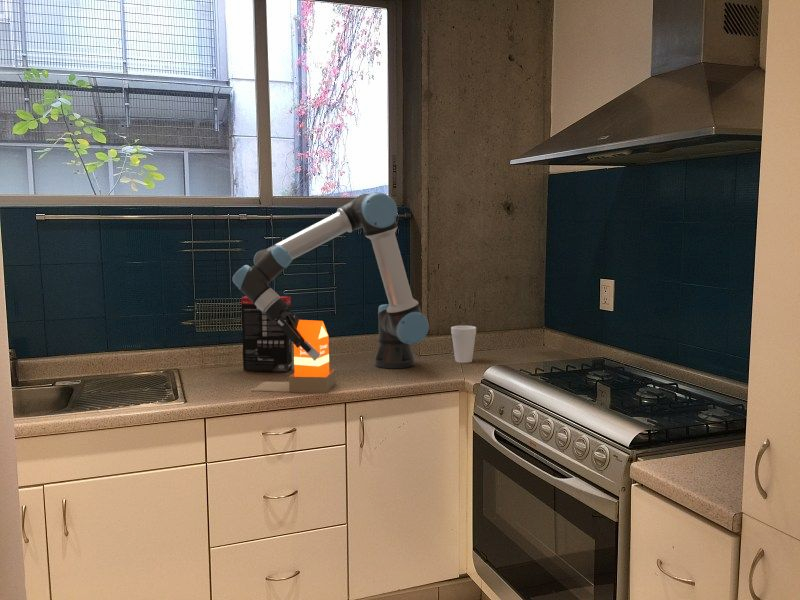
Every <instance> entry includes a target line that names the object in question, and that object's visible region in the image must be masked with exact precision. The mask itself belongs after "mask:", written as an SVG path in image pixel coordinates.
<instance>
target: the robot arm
mask: <svg viewBox="0 0 800 600" xmlns="http://www.w3.org/2000/svg"><path fill="white" fill-rule="evenodd" d="M397 216H398V206H397V203H396V202H395V200H394V199H393V198H392V197H391V196H390V195H388V194H387V193H384V192H383V193H382V192H378V191H376V192H370V193H364V194H361V195H358V196H357V197H355V198H354V199H352V200H350V201H349V202H347V203H346V204H344V205H342V206H340V207H338V208H337V210H336V212H335V213H333V214H331V215H329V216H327V217H325V218H323V219H321V220H320V221H318V222H317V221H316V222H315V223H313V224H312V225H309V226H307V227H305V228H303V229H302V230H300V231H298V232H296V233H294V234H292V235H290V236H288V237H287V238H284V239H283V240H281V241H279V242H277V243H274V244H273V245H271V246H269V247H267V248H265V249H261V250H259V251H257V252H256V253H255V255H254V256H253V264H254V265H252V266H249V265H248V264H245V265H243V266H241V268H238V270H236V272H235V273H234V274H233V276H232V282H233V283H232V284H234V285H235V286H236V287H237V288H238V290H239V291H241V293H242V294H244V296H247V297H248V298H249V299H250V300H251V301H252V302H253V303H254V304H255V305H256V306H257V307H256V308H257V309H260V310H261V311H262V312H265V315H266V316H267V317H268V318H269V319H270V320H271V321H275V320H276V319H277V320H278V322H277V323H276V324H277V325H278V326H279V327H280V328H281V329H282V330H283V331H284V333H285V334H286V335H287V336H288V337H289V338H290V340H291V342H292V343H293V345H294V344H295V345H296V347H297V348H299V347H301V348H302V349H303V350H304V351H305V352H306V353H307V354H308V355H309V356H310V357H311V358H312V359H313V360H314V361H315V360H316V359H317V358H318V357H319V356H320V355H321V354H320V353H319V352H318V351H317V350H316V349H315V348H314V347H313V346H312V345H311V344H310V343H309V342H308V341H307V340H306V341H305V340H304V338H303V337H302V336H301V334H300V333H299V331H298V330H297V326H298V323H299V320H301V319H300V318H299V317H298V316H297V315H296V314H295V313H294V312H291V314H290V313H288V312H287V311H286V309H287V308H288V304H287V303H286V302H285V301H284V300H283V299H281V298H280V299H279V296H280V295H279V294H278V293H277V292H276V291H275V290H274V289H273V288H272V287H271V286H270V285H269V284H270V283H271V282H272V281H274V279H276V277H278V275H280V274H281V272H283V271H284V270H286V268H288V267H289V265H290V264H291V263H292V261H293V260H294V259H296V258H299V257H300V256H303V255H304V254H306V253H308V252H310V251H312V250H314V249H316V248H318V247H319V246H321V245H323V244H325V243H327V242H329V241H331V240H333V239H335V238H337V237H339V236H340V235H343V234H345V233H352V232H354V231H356V230H359V229H360V230H361V229H363V233H364V237H366V238H367V239H369V240H370V242H371V244H372V249H373V252H374V255H375V260H376V263H377V267H378V270H379V274H380V277H381V280H382V284H383V288H384V291H385V295H386V297H387V300H388V304H387V303H386V304H381V305H379V306H378V310H377V311H378V312H377V316H378V317H377V318H378V320H377V321H378V322H377V323H378V324H377V325H378V346H377V348H376V349H377V350H376V353H375V356H374V366H375V367H377V368H382V369H404V368H410V367H413V366H415V363H416V362H415V361H416V360H415V359H416V358H415V355H414V352H413V349H412V347H411V345H416V344H419V343H420V342H422V341H424V340H425V338H426V337H427V334H428V332H429V328H430V324H429V321H428V318H427V316H426V315H424V313H423V312H422V310H421V306H420V304H419V301H418V300H417V299H415V298H414V297H413V294H412V290H411V286H410V284H409V280H408V277H407V272H406V269H405V265H404V262H403V258H402V255H401V250H400V248H399V243H398V240H397V236H396V232H397V229H398V223H397ZM304 341H305V342H304Z"/></svg>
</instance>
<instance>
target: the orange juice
mask: <svg viewBox="0 0 800 600" xmlns="http://www.w3.org/2000/svg"><path fill="white" fill-rule="evenodd" d="M297 330H298V331H299V333H300V334H301V336H302V337H303V338H304V340H305V341H306V340H307V341H308V342H309V343H310V344H311V345H312V346H313V347H314V348H315V349H316V350H317V351H318V352H319V353H320V354H321V355H320V356H319V357H318V358H317V359H316V360H315V361H314V360H313V359H312V358H311V357H310V356H309V355H308V354H307V353H306V352H305V351H304V350H303V349H302V348H301V347H299V348H297V347H296V345H295V344H294V343H293V365H294V372H295V377H327V376H328V375H329V369H330V350H329V347H330V346H329V345H330V343H329V342H330V341H329V334H328V332H327V328H326V326H325V323H324V321H323V320H313V319H311V320H310V319H309V320H308V319H300V320H299V323H298V326H297ZM305 341H304V342H305Z"/></svg>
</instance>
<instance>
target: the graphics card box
mask: <svg viewBox="0 0 800 600" xmlns="http://www.w3.org/2000/svg"><path fill="white" fill-rule="evenodd" d="M280 298H281V299H283V300H284V301H285V302H286V303H287V304H288V308H287V309H286V311H287V312H288V313H290V314H291V313H292V307H291V306H292V303H291V296H287V295H286V296H282V295H281V296H280V295H279V299H280ZM240 301H241V302H240V303H241V304H240V305H241V307H240V308H241V329H242V331H241V333H242V364H243V365H242V366H243V367H242V370H243V371H244V372H245V371H247V372H249V371H250V372H252V371H253V372H279V373H281V372H283V373H287V372H289V371H290V370H291V369H293V353H292V352H293V347H292V346H293V345H292V343H293V342H292V341H291V340H290V338H289V337H288V336H287V335H286V334H285V333H284V331H283V330H282V329H281V328H280V327H279V326H278V325H277V324H276V323H277V322H278V320H277V319H276V320H275V321H271V320H270V319H269V318H268V317H267V316H266V315H265V312H262V311H261V310H260V309H257V308H256V307H257V306H256V305H255V304H254V303H253V302H252V301H251V300H250V299H249V298H248V297H247V296H246V295H244V296H241V297H240Z"/></svg>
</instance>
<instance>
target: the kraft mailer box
mask: <svg viewBox="0 0 800 600" xmlns="http://www.w3.org/2000/svg"><path fill="white" fill-rule="evenodd" d="M336 383H337V381H336V369H335V368H334V369H331V368H329V375H328V376H327V377H295V371H294V372H293V373H292V374H291V375H289V376H288V381H263V382H261V383H260V384H259V385H257V386H256V387H254V388H253V389H251V392H259V391H273V392H272V393H311V394H312V393H313V394H314V393H315V394H316V393H317V394H320V393H322V394H327V393H329V392H330V390H332V389H333V388H334V386H335V385H336Z"/></svg>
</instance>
